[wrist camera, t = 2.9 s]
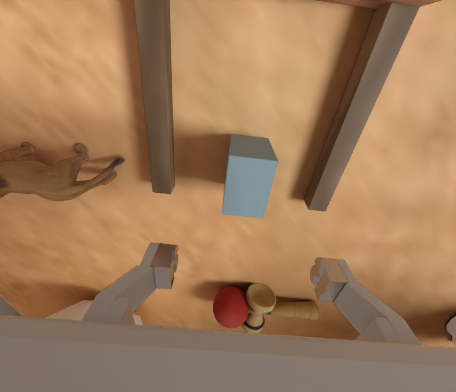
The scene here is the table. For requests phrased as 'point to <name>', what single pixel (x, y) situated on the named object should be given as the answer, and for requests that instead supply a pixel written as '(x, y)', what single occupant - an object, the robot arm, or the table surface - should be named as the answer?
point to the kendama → (257, 307)
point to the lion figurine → (48, 174)
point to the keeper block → (248, 176)
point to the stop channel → (346, 114)
